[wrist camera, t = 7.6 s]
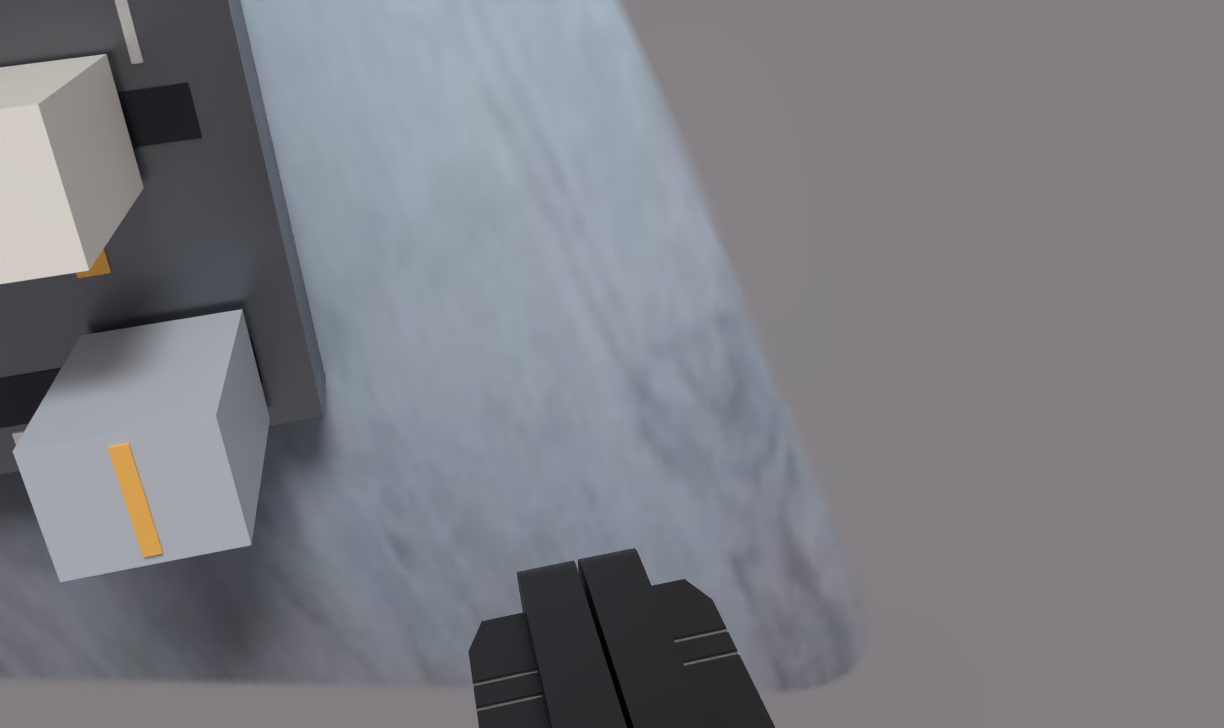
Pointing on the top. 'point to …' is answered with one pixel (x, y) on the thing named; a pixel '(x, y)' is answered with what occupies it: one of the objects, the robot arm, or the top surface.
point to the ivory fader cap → (61, 166)
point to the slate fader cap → (148, 446)
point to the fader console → (167, 204)
